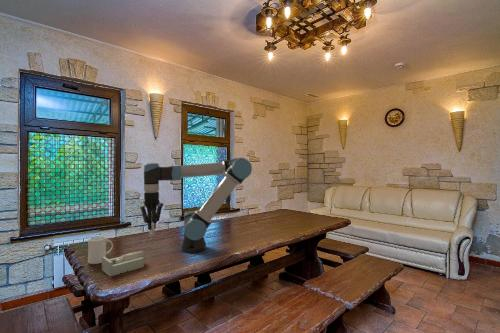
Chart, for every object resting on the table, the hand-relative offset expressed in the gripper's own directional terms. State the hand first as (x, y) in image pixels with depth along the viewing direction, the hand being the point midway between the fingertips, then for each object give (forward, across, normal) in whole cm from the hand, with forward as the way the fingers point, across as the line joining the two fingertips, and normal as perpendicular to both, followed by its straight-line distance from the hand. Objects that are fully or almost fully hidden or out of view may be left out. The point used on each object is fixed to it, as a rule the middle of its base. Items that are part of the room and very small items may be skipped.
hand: (152, 235), depth 143 cm
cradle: (+13, +16, +1) cm, 21 cm away
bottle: (+9, +6, +1) cm, 11 cm away
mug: (+13, +20, -18) cm, 30 cm away
